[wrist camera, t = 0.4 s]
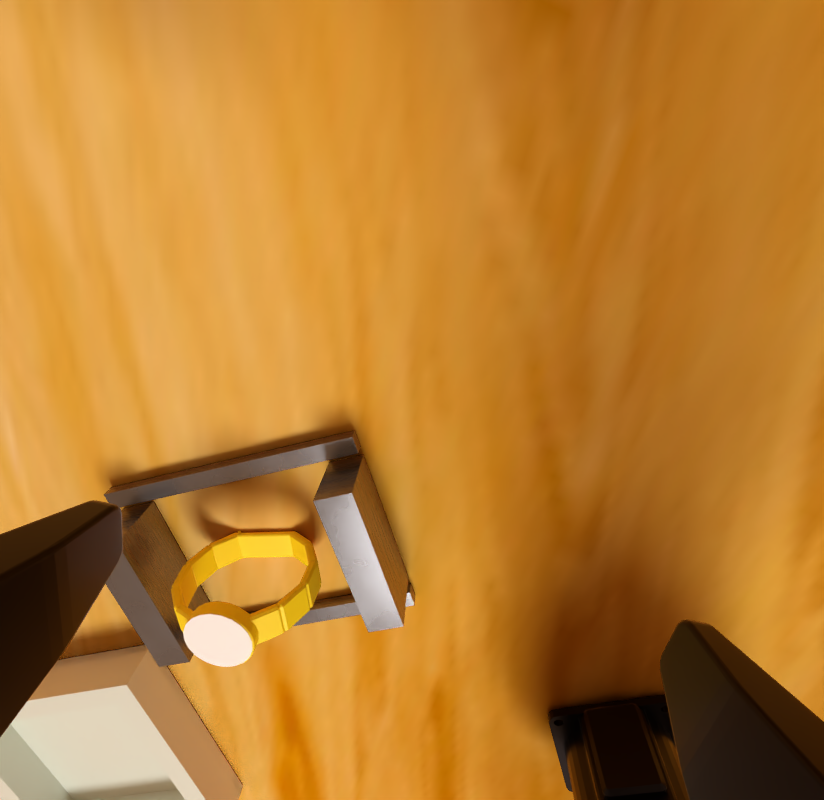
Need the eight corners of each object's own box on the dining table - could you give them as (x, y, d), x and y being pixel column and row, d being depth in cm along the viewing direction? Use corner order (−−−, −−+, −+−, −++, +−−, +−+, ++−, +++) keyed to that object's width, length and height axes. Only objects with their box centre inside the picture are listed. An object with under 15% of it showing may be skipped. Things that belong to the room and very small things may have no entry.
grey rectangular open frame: (415, 596, 26) (411, 646, 23) (197, 634, 28) (170, 684, 25) (354, 430, 23) (341, 466, 20) (111, 487, 25) (69, 527, 22)
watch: (220, 561, 26) (150, 663, 21) (207, 515, 25) (130, 610, 20) (336, 566, 25) (294, 673, 20) (328, 518, 24) (282, 618, 19)
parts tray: (242, 785, 33) (227, 831, 31) (74, 806, 35) (47, 850, 33) (152, 643, 29) (126, 684, 26) (-36, 676, 31) (-75, 717, 28)
